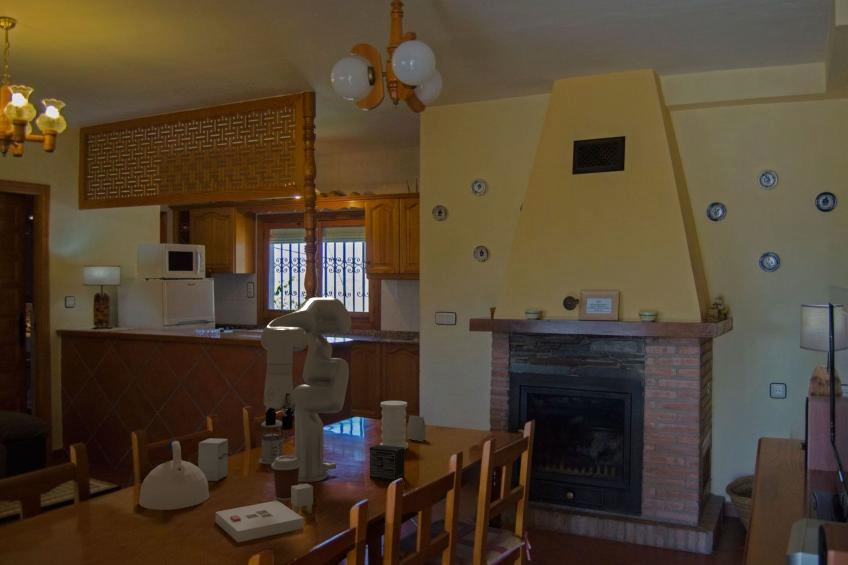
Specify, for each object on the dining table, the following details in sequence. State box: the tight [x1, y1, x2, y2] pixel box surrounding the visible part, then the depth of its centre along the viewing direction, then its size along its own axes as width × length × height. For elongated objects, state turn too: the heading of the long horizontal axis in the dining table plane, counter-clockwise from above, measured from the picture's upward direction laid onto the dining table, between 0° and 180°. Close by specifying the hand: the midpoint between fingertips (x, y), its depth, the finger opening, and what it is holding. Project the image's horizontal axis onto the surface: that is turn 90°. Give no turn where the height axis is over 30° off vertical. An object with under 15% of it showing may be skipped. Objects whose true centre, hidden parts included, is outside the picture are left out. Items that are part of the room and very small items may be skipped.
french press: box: [258, 419, 285, 465], centre depth 255 cm, size 10×12×25 cm
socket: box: [215, 500, 305, 543], centre depth 185 cm, size 18×18×3 cm
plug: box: [290, 483, 314, 515], centre depth 196 cm, size 5×5×8 cm
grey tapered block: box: [406, 415, 426, 442], centre depth 289 cm, size 4×7×10 cm, turn 61°
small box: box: [369, 444, 405, 482], centre depth 232 cm, size 11×6×10 cm, turn 65°
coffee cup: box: [270, 455, 301, 502], centre depth 210 cm, size 9×9×12 cm
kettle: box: [138, 439, 210, 511], centre depth 208 cm, size 20×21×18 cm
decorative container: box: [379, 400, 409, 450], centre depth 276 cm, size 12×12×18 cm
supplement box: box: [197, 437, 229, 482], centre depth 231 cm, size 7×7×13 cm
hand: (278, 427), depth 203 cm, fingers open, 9 cm apart
